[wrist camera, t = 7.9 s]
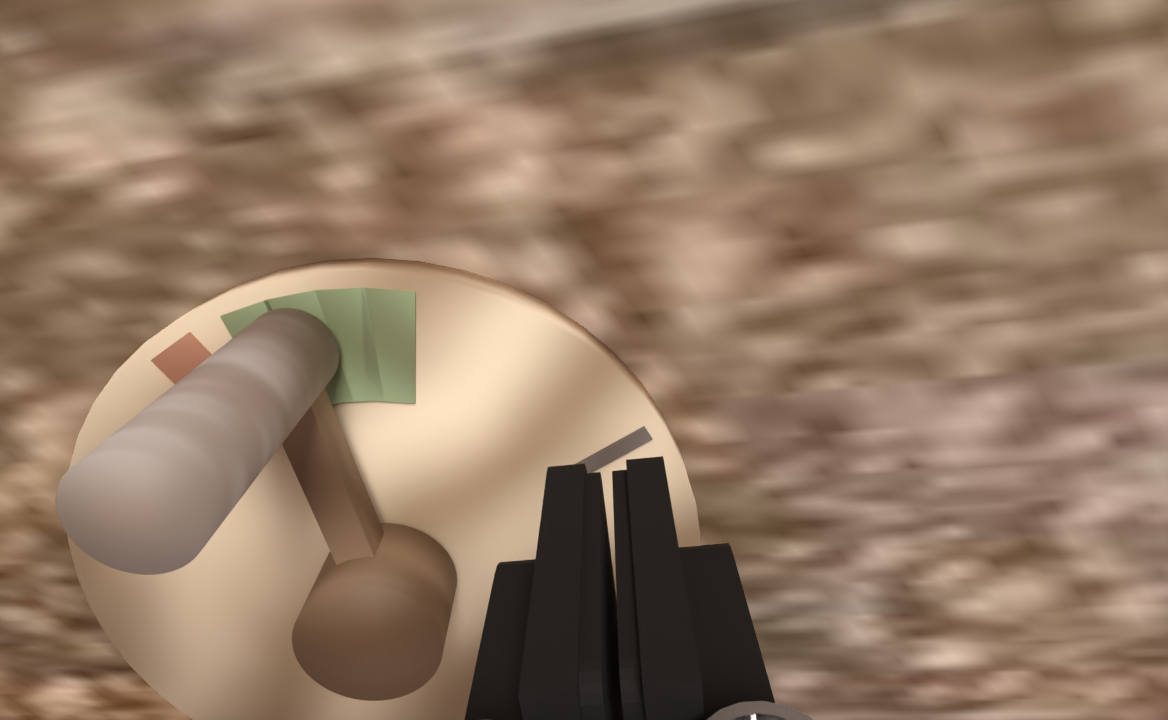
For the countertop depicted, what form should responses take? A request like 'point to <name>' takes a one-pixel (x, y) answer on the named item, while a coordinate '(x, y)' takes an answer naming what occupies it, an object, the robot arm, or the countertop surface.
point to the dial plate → (375, 475)
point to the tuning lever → (225, 472)
